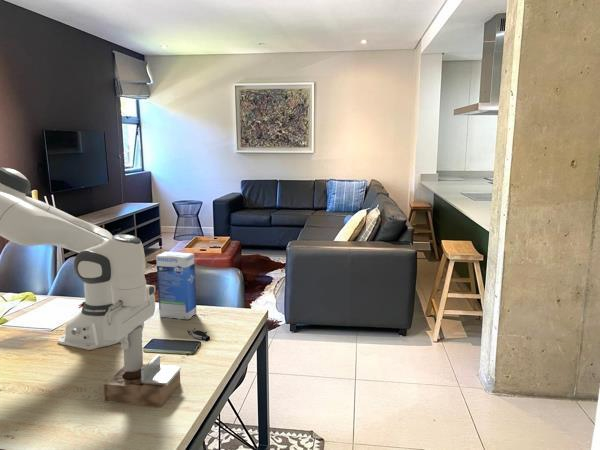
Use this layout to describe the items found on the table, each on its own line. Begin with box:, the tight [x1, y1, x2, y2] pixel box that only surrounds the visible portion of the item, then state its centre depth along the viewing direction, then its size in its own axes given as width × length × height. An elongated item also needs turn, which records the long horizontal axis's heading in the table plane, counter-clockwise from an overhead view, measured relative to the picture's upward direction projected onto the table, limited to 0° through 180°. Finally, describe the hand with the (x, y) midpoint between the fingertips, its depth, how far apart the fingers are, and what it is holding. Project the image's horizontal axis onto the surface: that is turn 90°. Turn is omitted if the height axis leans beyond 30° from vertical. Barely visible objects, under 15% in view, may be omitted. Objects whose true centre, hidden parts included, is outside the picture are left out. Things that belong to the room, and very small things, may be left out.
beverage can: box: [123, 325, 144, 372], centre depth 120 cm, size 5×5×12 cm
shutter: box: [141, 354, 182, 386], centre depth 120 cm, size 7×9×4 cm
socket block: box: [103, 363, 181, 408], centre depth 122 cm, size 16×12×5 cm
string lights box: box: [155, 251, 197, 320], centre depth 176 cm, size 13×8×26 cm, turn 77°
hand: (132, 343), depth 120 cm, fingers closed on beverage can, 5 cm apart
